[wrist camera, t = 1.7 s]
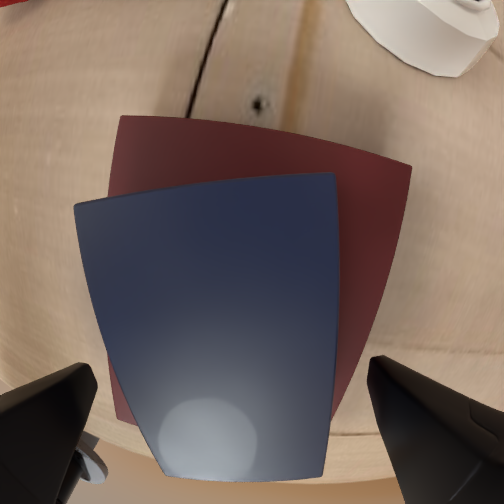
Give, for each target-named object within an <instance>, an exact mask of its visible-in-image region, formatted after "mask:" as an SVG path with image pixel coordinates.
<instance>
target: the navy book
mask: <svg viewBox="0 0 504 504" xmlns="http://www.w3.org/2000/svg"><path fill="white" fill-rule="evenodd" d="M74 216H75V223H76V230H77V236H78V242H79V247H80V253H81V258H82V263H83V267H84V272H85V277H86V281H87V285H88V289H89V293H90V297H91V301H92V305H93V308H94V312H95V315H96V319H97V322H98V325H99V329H100V332H101V335H102V338H103V341H104V344H105V347H106V350H107V353H108V356H109V359H110V361H111V364H112V367H113V369H114V372H115V375H116V377H117V380H118V382H119V385H120V387H121V389H122V392H123V394H124V397H125V399H126V401H127V403H128V406H129V408H130V410H131V412H132V414H133V416H134V419H135V421H136V423H137V425H138V427H139V429H140V431H141V433H142V435H143V437H144V439H145V441H146V442H147V444H148V446H149V448H150V450H151V452H152V454H153V455H154V457H155V459H156V461H157V462H158V464H159V466H160V468H161V469H162V471H163V472H164V474H165V475H166V476H170V477H178V478H186V479H195V480H208V481H224V482H225V481H226V482H270V481H287V480H299V479H308V478H316V477H321V476H322V475H323V470H324V464H325V458H326V452H327V445H328V438H329V431H330V424H331V415H332V407H333V398H334V387H335V376H336V363H337V348H338V329H339V296H340V251H339V218H338V198H337V183H336V175H335V173H332V172H322V173H302V174H285V175H271V176H259V177H247V178H237V179H227V180H218V181H209V182H201V183H193V184H185V185H178V186H171V187H164V188H158V189H151V190H145V191H139V192H133V193H127V194H122V195H116V196H111V197H106V198H101V199H96V200H91V201H86V202H81V203H77V204H75V205H74Z"/></svg>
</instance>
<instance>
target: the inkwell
mask: <svg viewBox="0 0 504 504" xmlns="http://www.w3.org/2000/svg"><path fill="white" fill-rule="evenodd" d="M491 1H492V0H346V2H347V4H348V6H349V8H350V10H351V12H352V14H353V16H354V18H355V19H356V20H357V21H358V22H359V23H360V24H361V25H362V26H363V27H364V28H365V30H366V31H367V32H368V33H369V34H370V35H371V36H372V37H373V38H374V39H375V41H376V42H377V43H379V44H380V45H382V46H383V47H385V48H386V49H387V50H389V51H390V52H391V53H393V54H394V55H395V56H397V57H398V58H399V59H401V60H402V61H403V62H404V63H407V64H409V65H412V66H414V67H416V68H419V69H421V70H423V71H426V72H428V73H430V74H432V75H435V76H447V77H459V76H461V75H462V74H464V73H466V72H467V71H469V70H471V69H472V68H473V67H474V65H475V64H476V63H477V62H478V61H479V59H480V58H481V57H482V56H483V55H484V53H485V52H486V51H487V50H488V48H489V47H490V46H491V44H492V43H493V41H494V40H495V39H496V37H497V35H498V30H499V25H500V23H499V20H498V16H497V13H496V10H495V7H494V5H493V3H492V2H491Z"/></svg>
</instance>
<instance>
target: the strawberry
mask: <svg viewBox="0 0 504 504" xmlns="http://www.w3.org/2000/svg"><path fill="white" fill-rule="evenodd" d="M25 1H28V0H0V7H4V6H8V5H12V4H15V3H19V2H25Z"/></svg>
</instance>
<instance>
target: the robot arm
mask: <svg viewBox="0 0 504 504" xmlns="http://www.w3.org/2000/svg"><path fill="white" fill-rule="evenodd" d="M367 386H368V390H369V394H370V398H371V402H372V405H373V409H374V413H375V418H376V421H377V425H378V428H379V431H380V434H381V436H382V439H383V441H384V444H385V447H386V449H387V452H388V455H389V458H390V460H391V463H392V466H393V469H394V471H395V474H396V477H397V480H398V483H399V486H400V489H401V491H402V495H403V498H404V501H405V504H504V412H502V411H499V410H496V409H493V408H491V407H489V406H486V405H484V404H482V403H480V402H478V401H475V400H473V399H471V398H470V399H469V397H467V396H465V395H463V394H461V393H459V392H456V391H454V390H452V389H450V388H448V387H446V386H444V385H442V384H440V383H438V382H436V381H434V380H432V379H430V378H428V377H426V376H424V375H422V374H420V373H418V372H416V371H414V370H412V369H410V368H408V367H406V366H404V365H402V364H400V363H398V362H396V361H394V360H392V359H390V358H389V357H387V356H384V355H381V356H375V357H372V358H371V359H370V362H369V369H368V375H367ZM97 388H98V385H97V381H96V379H95V376H94V374H93V372H92V369H91V367H90V366H89V364H87V363H80V362H79V363H76V364H73V365H71V366H69V367H66V368H64V369H62V370H59V371H57V372H55V373H52V374H50V375H48V376H45V377H43V378H41V379H38V380H36V381H33V382H31V383H29V384H26V385H24V386H21V387H19V388H16V389H14V390H11V391H9V392H6V393H4V394H2V395H0V504H66V503H67V501H68V499H69V497H70V496H71V494H72V492H73V490H74V488H75V486H76V484H77V483H78V481H79V479H80V478H82V479H84V480H86V481H89V482H90V480H91V478H90V475H89V472H88V469H87V467H86V464H85V461H84V458H83V456H82V455H81V454H79V453H78V452H76V451H75V448H76V446H77V443H78V441H79V439H80V436H81V434H82V432H83V429H84V427H85V424H86V422H87V419H88V416H89V413H90V410H91V407H92V403H93V400H94V398H95V395H96V392H97Z"/></svg>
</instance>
